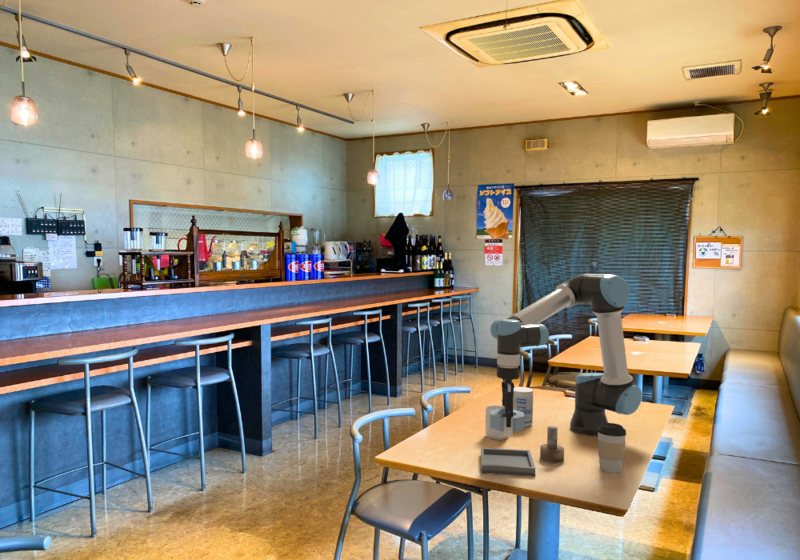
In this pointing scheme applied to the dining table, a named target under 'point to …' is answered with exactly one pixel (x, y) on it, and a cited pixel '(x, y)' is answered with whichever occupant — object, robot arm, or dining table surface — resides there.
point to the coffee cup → (611, 447)
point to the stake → (552, 447)
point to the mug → (489, 431)
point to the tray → (507, 461)
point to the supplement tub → (524, 403)
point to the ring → (498, 420)
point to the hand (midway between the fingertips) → (506, 430)
